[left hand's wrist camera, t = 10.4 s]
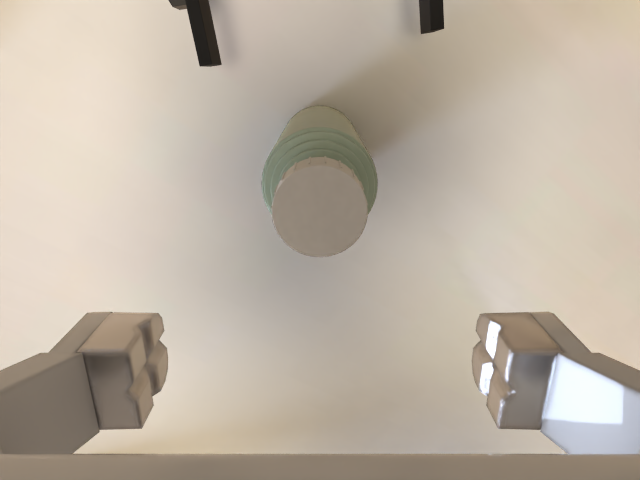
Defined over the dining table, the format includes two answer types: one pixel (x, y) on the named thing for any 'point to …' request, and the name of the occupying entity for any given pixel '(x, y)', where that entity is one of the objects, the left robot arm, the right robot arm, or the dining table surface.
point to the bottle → (319, 149)
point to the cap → (319, 207)
